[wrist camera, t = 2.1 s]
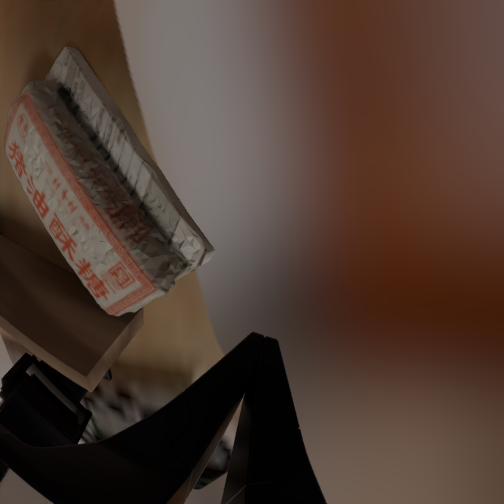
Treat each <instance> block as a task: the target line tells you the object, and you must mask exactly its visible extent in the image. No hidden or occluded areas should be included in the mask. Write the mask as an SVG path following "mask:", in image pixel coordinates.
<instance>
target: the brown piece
mask: <svg viewBox="0 0 504 504" xmlns="http://www.w3.org/2000/svg"><path fill="white" fill-rule="evenodd" d="M142 325H143V307H142V308H140V309H139V310H138V311H136V312H135V313H134V312H126V313H124V314H122V315H120V316H114V315H109V314H108V313H107V312H106V311H105V310H104V309H102V308H101V307H100V305H99V304H98V303H97V302H96V300H95V299H94V297H93V296H92V295H91V293H90V292H89V290H88V289H87V288H86V287H85V286H84V285H83V283H82V281H81V280H80V278H79V277H77V276H75V275H73V274H72V273H70V272H68V271H66V270H64V269H62V268H60V267H58V266H56V265H54V264H52V263H50V262H49V261H47V260H45V259H43V258H41V257H39V256H38V255H36V254H34V253H32V252H30V251H29V250H27V249H25V248H23V247H22V246H20V245H18V244H16V243H15V242H13V241H11V240H10V239H8V238H6V237H5V236H3V235H1V234H0V326H1V327H2V328H3V329H4V330H5V331H6V332H7V333H9V334H10V335H11V336H12V337H13V338H15V339H16V340H17V341H18V342H20V343H21V344H22V345H23V346H25V347H26V348H27V349H28V350H30V351H31V352H32V353H34V354H35V355H36V356H38V357H39V358H40V359H42V360H43V361H44V362H46V363H47V364H49V365H50V366H51V367H53V368H54V369H56V370H57V371H59V372H60V373H62V374H63V375H65V376H66V377H68V378H69V379H71V380H72V381H74V382H75V383H77V384H79V385H80V386H82V387H83V388H85V389H87V390H88V391H90V392H92V391H93V390H94V389H95V387H96V386H97V385H98V383H99V382H100V380H101V379H102V378H103V376H104V375H105V374H106V372H107V371H108V370H109V368H110V367H111V366H112V364H113V363H114V362H115V360H116V359H117V358H118V356H119V355H120V354H121V352H122V351H123V350H124V348H125V347H126V346H127V345H128V343H129V342H130V341H131V339H132V338H133V337H134V335H135V334H136V333H137V332H138V330H139V329H140V328H141V326H142Z"/></svg>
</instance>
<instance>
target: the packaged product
mask: <svg viewBox="0 0 504 504" xmlns="http://www.w3.org/2000/svg"><path fill="white" fill-rule="evenodd" d="M8 118H9V119H8V123H7V129H6V133H5V134H6V135H5V144H4V146H5V151H6V154H7V157H8V159H9V161H10V163H11V165H12V168H13V170H14V172H15V174H16V176H17V178H18V179H19V181H20V183H21V185H22V186H23V190H24V191H25V192H26V194H27V196H28V198H29V200H30V202H31V204H32V205H33V207H34V209H35V211H36V212H37V214H38V216H39V217H40V219H41V221H42V222H43V224H44V226H45V228H46V230H47V231H48V232H49V234H50V235H51V237H52V238H53V240H54V242H55V244H56V245H57V247H58V248H59V250H60V251H61V253H62V254H63V256H64V257H65V259H66V260H67V262H68V263H69V265H70V266H71V267H72V269H73V270H74V271H75V273H76V274H77V275H78V277H79V278H80V280H81V281H82V283H83V285H84V286H85V287H86V288H87V289H88V290H89V292H90V293H91V295H92V296H93V297H94V299H95V300H96V302H97V303H98V304H99V305H100V307H101V308H102V309H104V310H105V311H106V312H107V313H108V314H109V315H114V316H120V315H122V314H124V313H126V312H134V313H135V312H136V311H138V310H139V309H140V308H142V307H143V306H145V305H146V304H148V303H150V302H151V301H153V299H154V298H158V297H161V296H165V295H166V294H167V293H168V292H169V290H170V289H172V288H173V287H174V285H175V282H176V281H177V280H178V279H179V278H181V277H182V276H184V275H186V274H188V273H189V272H191V271H193V270H195V269H196V268H198V267H200V266H201V265H203V264H204V263H206V262H207V261H209V260H211V258H212V256H213V254H214V252H215V249H214V247H213V246H212V245H211V243H210V242H209V241H208V239H207V238H206V237H205V235H204V234H203V232H202V231H201V230H200V228H199V227H198V226H197V224H196V223H195V222H194V220H193V219H192V217H191V216H190V215H189V213H188V212H187V210H186V209H185V207H184V205H183V204H182V203H181V201H180V199H179V198H178V196H177V195H176V193H175V191H174V190H173V188H172V187H171V185H170V184H169V182H168V181H167V179H166V177H165V176H164V174H163V172H162V171H161V169H160V168H159V169H158V167H159V166H158V167H157V166H156V165H155V163H154V162H153V160H152V159H151V157H150V156H149V154H148V153H147V151H146V150H145V148H144V147H143V145H142V144H141V142H140V141H139V139H138V137H137V136H136V134H135V133H134V131H133V129H132V128H131V126H130V125H129V123H128V122H127V120H126V119H125V117H124V116H123V114H122V113H121V111H120V110H119V108H118V107H117V105H116V104H115V103H114V101H113V99H112V98H111V96H110V95H109V93H108V92H107V90H106V89H105V88H104V86H103V85H102V83H101V82H100V80H99V79H98V78H97V76H96V75H95V73H94V72H93V70H92V69H91V68H90V66H89V65H88V63H87V62H86V60H85V59H84V57H83V56H82V54H81V53H80V52H79V51H78V50H77V49H76V48H72V47H69V46H66V47H65V48H64V49H63V51H62V52H61V53H60V55H59V56H58V58H57V59H56V61H55V63H54V64H53V66H52V68H51V69H50V71H49V72H48V74H47V76H46V78H45V79H44V80H33V81H30V82H27V85H26V86H25V87H24V89H23V90H22V92H21V93H20V95H19V96H18V97H17V98H16V99H15V101H14V102H13V104H12V105H11V108H10V110H9V115H8ZM157 165H158V164H157Z"/></svg>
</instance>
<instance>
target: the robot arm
mask: <svg viewBox="0 0 504 504" xmlns="http://www.w3.org/2000/svg"><path fill="white" fill-rule="evenodd" d="M27 370H28V371H29V372H30V374H31V376H29V375H28V374H27V373H26V371H27ZM103 378H104V379H106V380H108V381H110V380H111V379H112V375H111V371H110V368H109V370H108V371H107V372H106V374H105V375H104V376H103ZM87 392H88V390H87V389H85V388H83V387H82V386H80V385H79V384H77V383H75V382H74V381H72V380H71V379H69V378H68V377H66V376H65V375H63V374H62V373H60V372H59V371H57V370H56V369H54V368H53V367H51V366H50V365H49V364H47V363H46V362H44V361H43V360H41V361H40V362H39V361H38V360H37V358H36V357H35V355H33V356H32V357H31V355H29V354H28V353H25V354H24V355H23V356H22V357H21V358H20V359H19V360H18V361H17V363H16V364H15V365H14V366H13V367H12V368H11V369H10V370H9V371H8V373H6V375H5V376H4V377H3V378H2V387H1V392H0V397H1V398H2V399H3V400H2V401H1V402H0V504H184V502H185V501H186V499H187V497H188V496H189V494H190V492H191V491H192V489H193V487H194V486H195V484H196V482H197V481H198V479H199V477H200V475H201V474H202V472H203V470H204V468H205V467H206V465H207V463H208V461H209V460H210V458H211V456H212V454H213V453H214V451H215V449H216V447H217V445H218V444H219V442H220V440H221V438H222V436H223V434H224V433H225V431H226V429H227V427H228V425H229V423H230V421H231V419H232V418H233V416H234V414H235V412H236V410H237V408H238V406H239V404H240V402H241V400H242V398H243V396H244V398H243V402H242V407H241V412H240V417H239V421H238V426H237V431H236V436H235V441H234V445H233V450H232V455H231V460H230V464H229V469H228V473H227V478H226V483H225V488H224V492H223V496H222V501H221V504H327V503H326V500H325V498H324V496H323V493H322V491H321V488H320V486H319V484H318V481H317V479H316V476H315V474H314V471H313V469H312V466H311V464H310V461H309V458H308V455H307V452H306V449H305V445H304V442H303V439H302V434H301V430H300V429H299V423H298V419H297V415H296V411H295V407H294V403H293V399H292V395H291V391H290V387H289V383H288V379H287V375H286V371H285V367H284V363H283V359H282V355H281V351H280V347H279V343H278V340H277V339H274V338H271V337H268V336H266V337H265V338H264V335H262V334H258V333H256V332H252V333H250V334H249V335H248V336H247V337H246V338H245V339H243V340H242V341H241V342H240V343H239V344H238V345H237V346H236V347H235V348H233V349H232V350H231V351H230V352H229V353H228V354H226V355H225V356H224V357H223V358H222V359H221V360H220V361H218V362H217V363H216V364H215V365H214V366H213V367H211V368H210V369H209V370H208V371H207V372H206V373H204V374H203V375H202V376H201V377H200V378H199V379H197V380H196V381H195V382H194V383H193V384H191V385H190V386H189V387H188V388H187V389H185V391H184V392H182V393H180V394H179V395H178V396H177V397H175V398H174V399H173V400H172V401H170V402H169V403H168V404H166V405H165V406H163V407H162V408H161V409H159V410H157V411H156V412H154V413H153V414H151V415H149V416H148V417H146V418H144V419H143V420H141V421H139V422H137V423H135V424H134V425H132V426H130V427H128V428H126V429H125V430H123V431H121V432H119V433H117V434H115V435H113V436H111V437H109V438H106V439H103V440H101V441H96V442H91V443H84V444H78V442H79V440H80V438H81V436H82V434H83V432H84V430H85V428H86V426H87V424H88V422H89V420H90V418H91V416H92V413H91V412H90V411H89V410H87V409H86V408H85V407H84V406H82V405H81V404H80V401H81V400H82V399H83V397H84V396H85V395H86V393H87ZM244 393H245V394H244Z"/></svg>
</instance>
